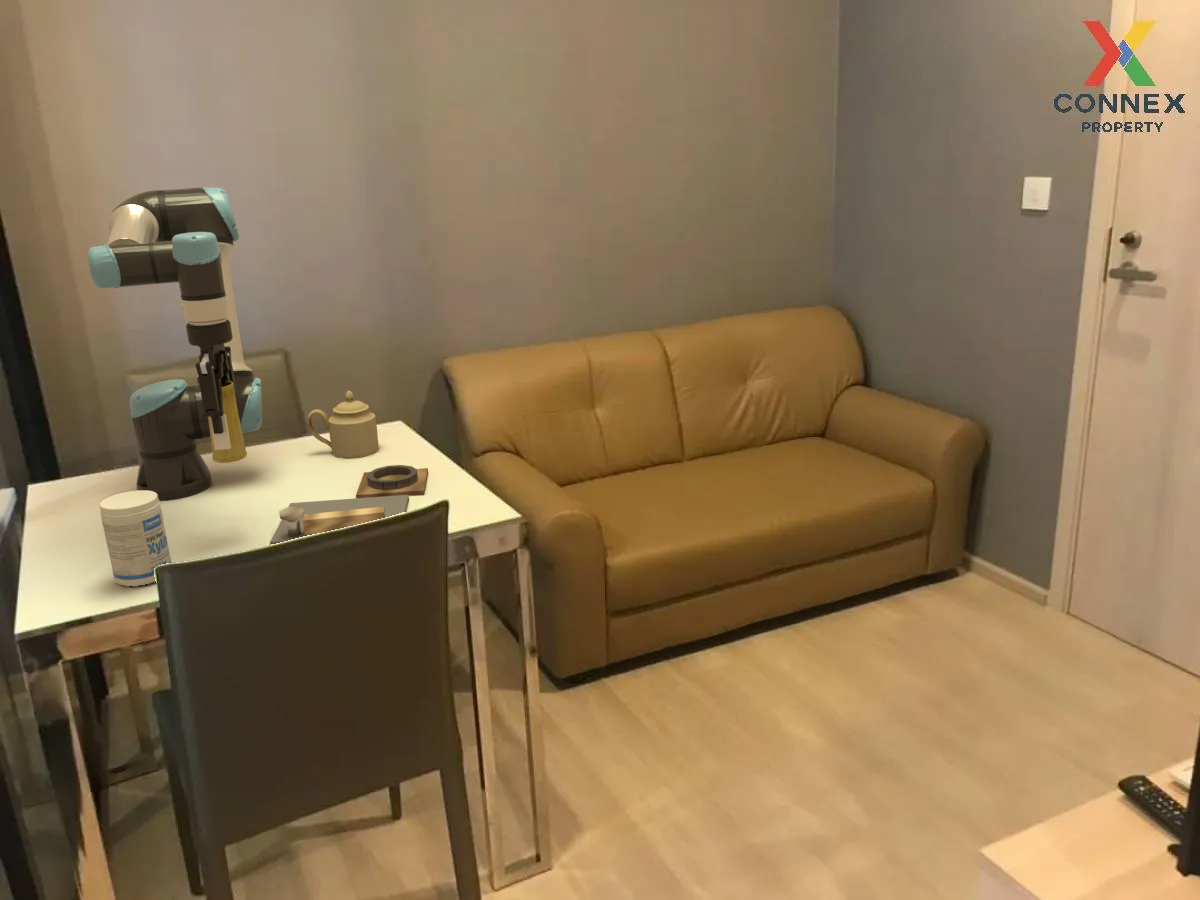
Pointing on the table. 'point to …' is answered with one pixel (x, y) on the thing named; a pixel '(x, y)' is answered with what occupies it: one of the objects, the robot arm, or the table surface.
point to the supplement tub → (134, 536)
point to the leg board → (389, 503)
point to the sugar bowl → (349, 429)
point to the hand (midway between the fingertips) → (227, 443)
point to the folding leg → (331, 518)
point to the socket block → (393, 482)
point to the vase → (230, 428)
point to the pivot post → (293, 527)
